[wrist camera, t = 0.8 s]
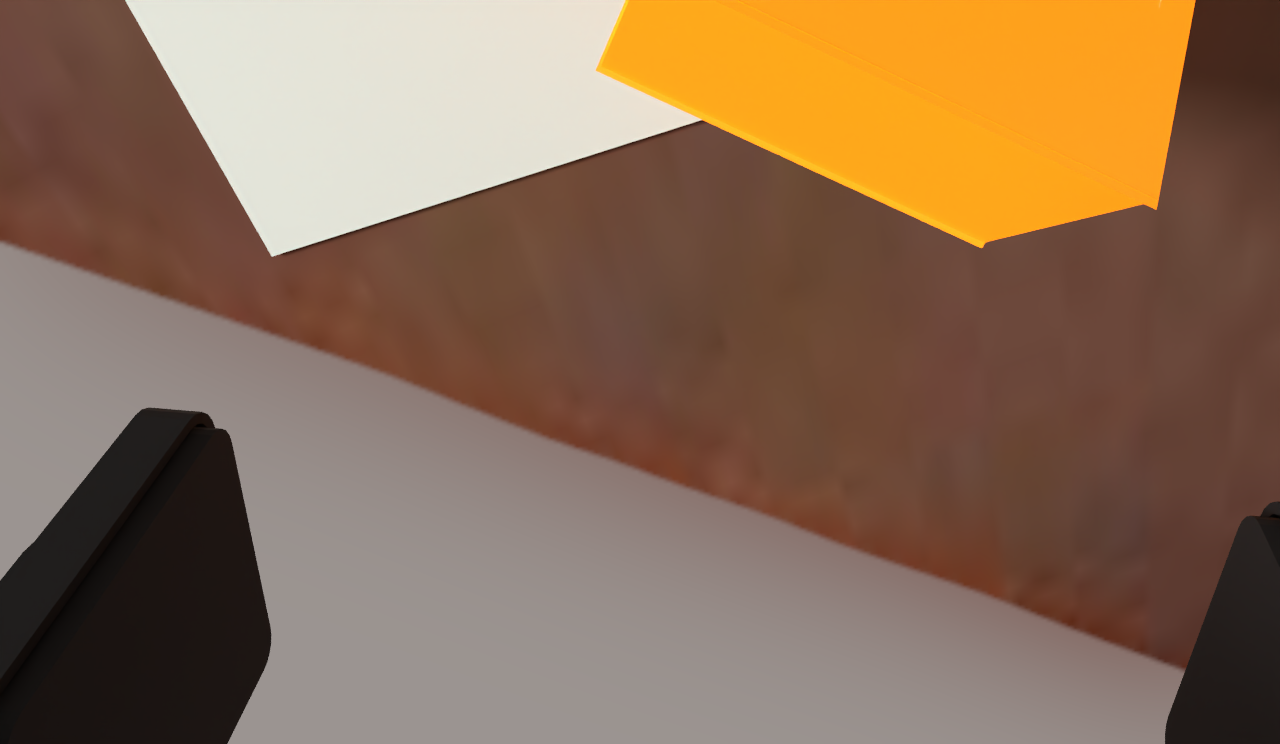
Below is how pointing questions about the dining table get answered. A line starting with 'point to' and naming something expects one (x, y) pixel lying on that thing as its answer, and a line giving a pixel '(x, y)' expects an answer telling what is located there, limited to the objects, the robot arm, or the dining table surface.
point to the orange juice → (931, 96)
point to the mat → (391, 100)
